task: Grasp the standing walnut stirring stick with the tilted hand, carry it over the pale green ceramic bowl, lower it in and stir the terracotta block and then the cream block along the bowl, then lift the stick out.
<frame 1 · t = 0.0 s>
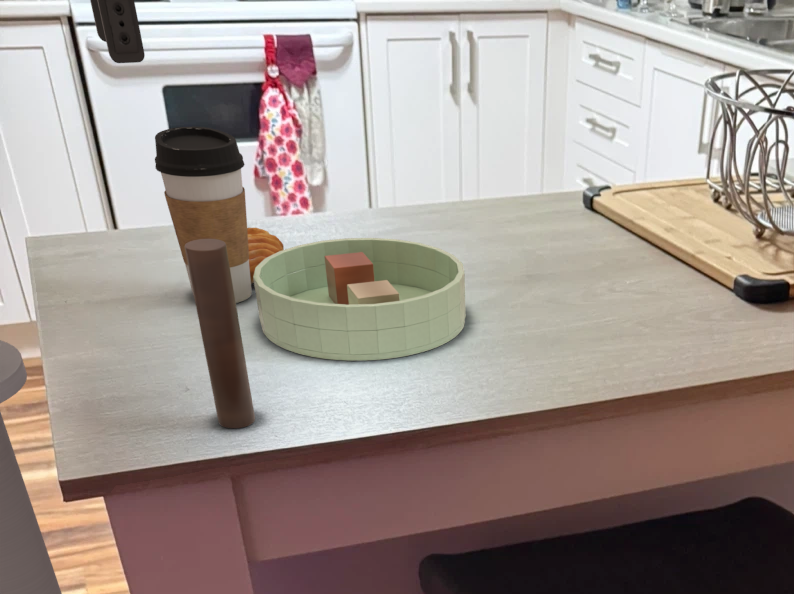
hand: (121, 51, 72), 26 cm above the kitchen island, tool pointing down, fingers open, 8 cm apart
block terracotta: (352, 300, 107), point 1 cm above the kitchen island, touching bowl
stir stick: (237, 420, 87), on the kitchen island
bowl: (364, 321, 105), on the kitchen island
pastry: (259, 274, 115), on the kitchen island
block cream: (376, 330, 101), point 1 cm above the kitchen island, touching bowl
coffee cup: (223, 297, 109), on the kitchen island
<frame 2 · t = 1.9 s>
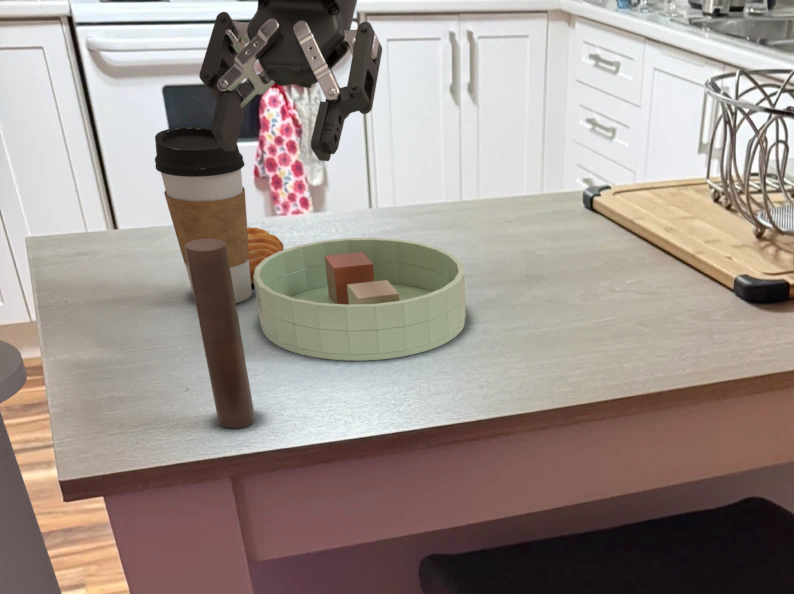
hand: (271, 150, 84), 18 cm above the kitchen island, tool tilted 45°, fingers open, 8 cm apart
nothing on the kitchen island moved.
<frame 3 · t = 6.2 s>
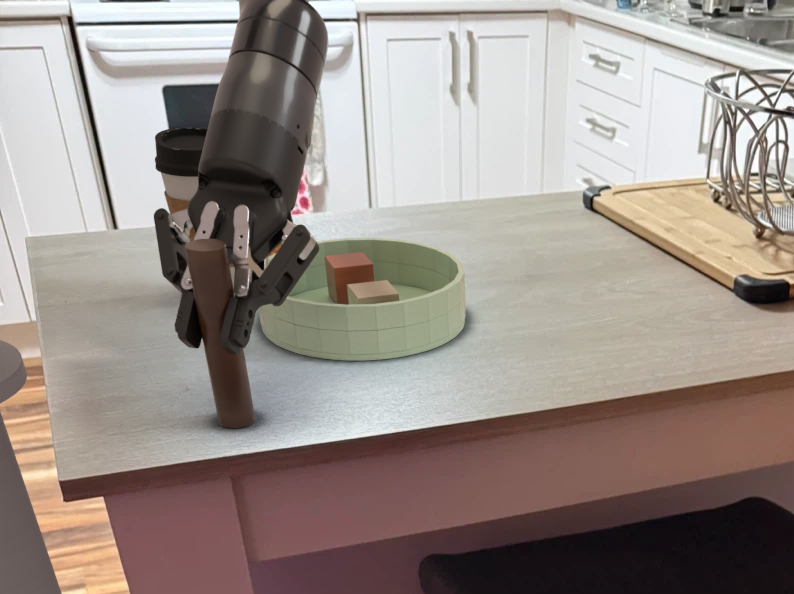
hand: (209, 345, 81), 7 cm above the kitchen island, tool tilted 45°, fingers closed on stir stick, 3 cm apart
stir stick: (237, 420, 87), on the kitchen island, touching gripper
everything else where it was.
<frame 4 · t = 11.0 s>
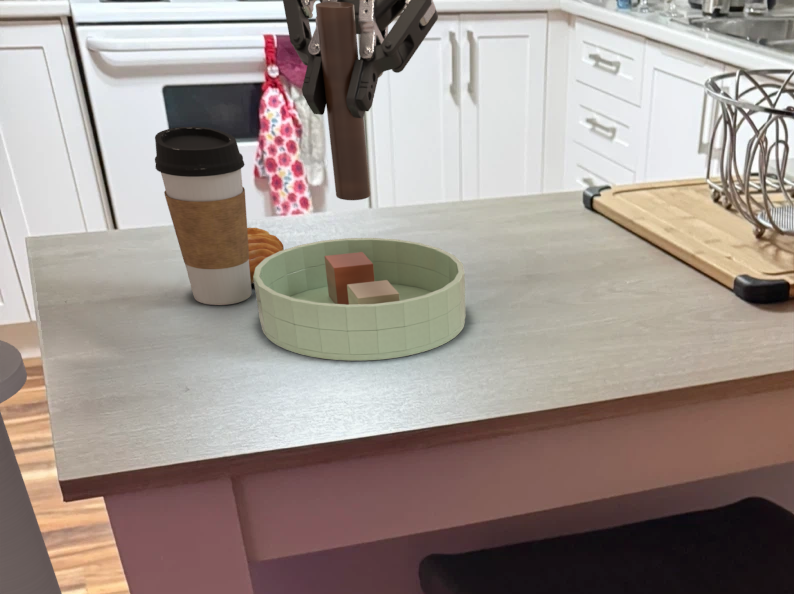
hand: (334, 109, 86), 20 cm above the kitchen island, tool tilted 45°, fingers closed on stir stick, 3 cm apart
stir stick: (353, 195, 92), point 13 cm above the kitchen island, touching gripper
everything else where it was.
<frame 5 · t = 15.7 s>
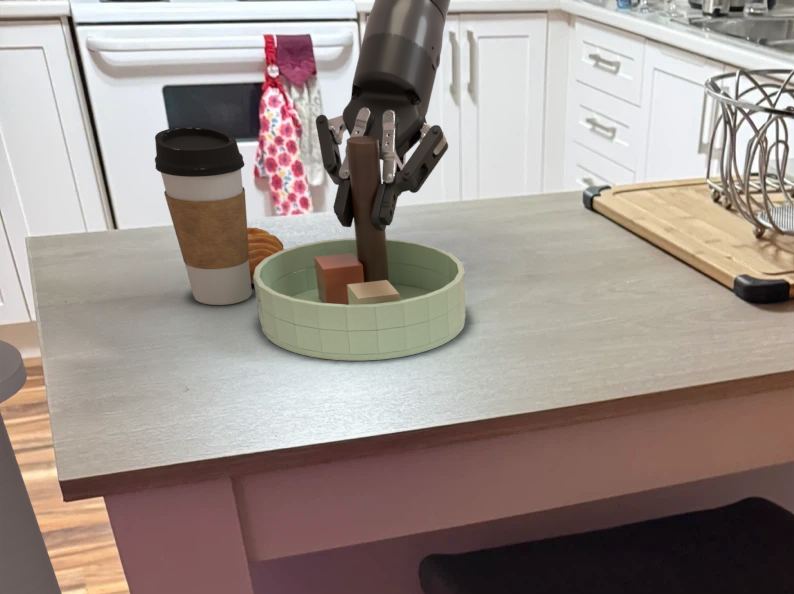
hand: (360, 223, 101), 8 cm above the kitchen island, tool tilted 45°, fingers closed on stir stick, 3 cm apart
block terracotta: (342, 301, 107), point 1 cm above the kitchen island, touching stir stick
stir stick: (375, 291, 108), point 1 cm above the kitchen island, touching block terracotta, gripper
everything else where it was.
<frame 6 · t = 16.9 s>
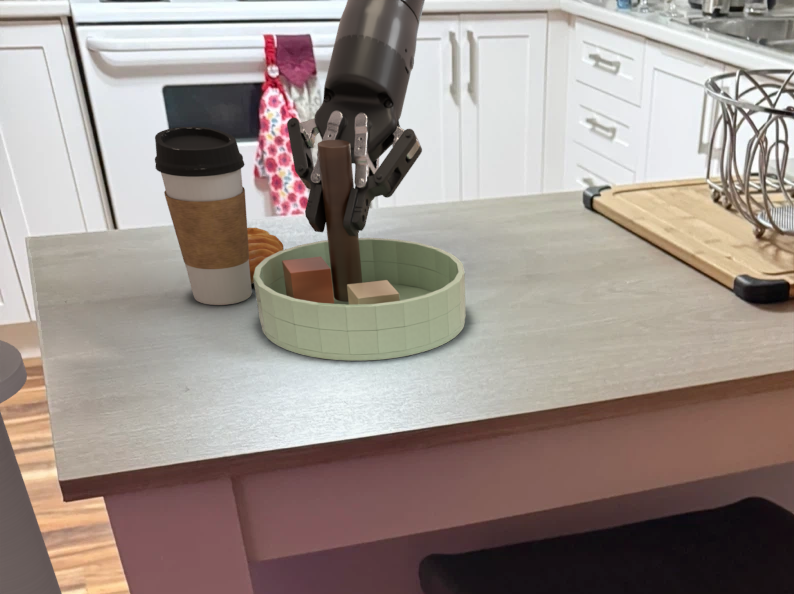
hand: (333, 228, 100), 8 cm above the kitchen island, tool tilted 45°, fingers closed on stir stick, 3 cm apart
block terracotta: (311, 305, 106), point 1 cm above the kitchen island, touching bowl
stir stick: (348, 296, 106), point 1 cm above the kitchen island, touching gripper
everything else where it was.
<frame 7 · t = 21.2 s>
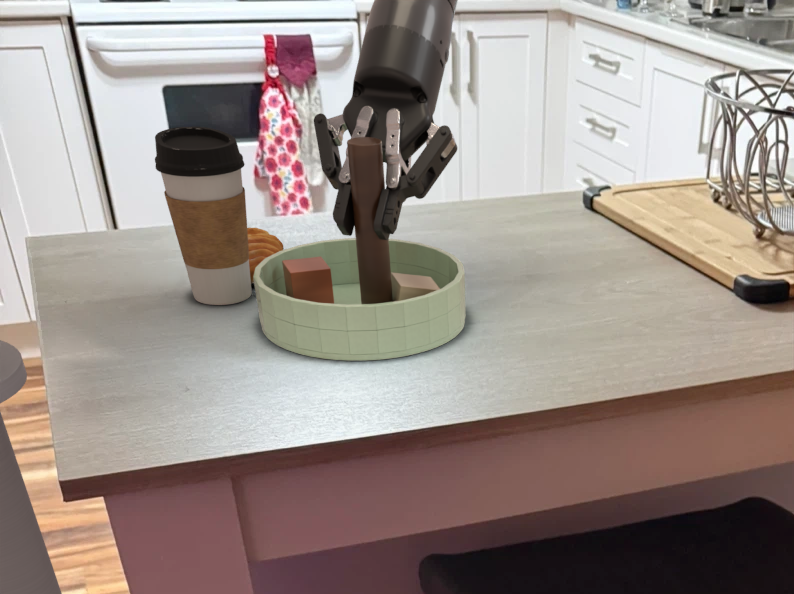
hand: (362, 232, 94), 10 cm above the kitchen island, tool tilted 45°, fingers closed on stir stick, 3 cm apart
stir stick: (377, 304, 100), point 3 cm above the kitchen island, touching gripper
block cream: (410, 323, 102), point 1 cm above the kitchen island, tilted 11°, touching bowl
everything else where it was.
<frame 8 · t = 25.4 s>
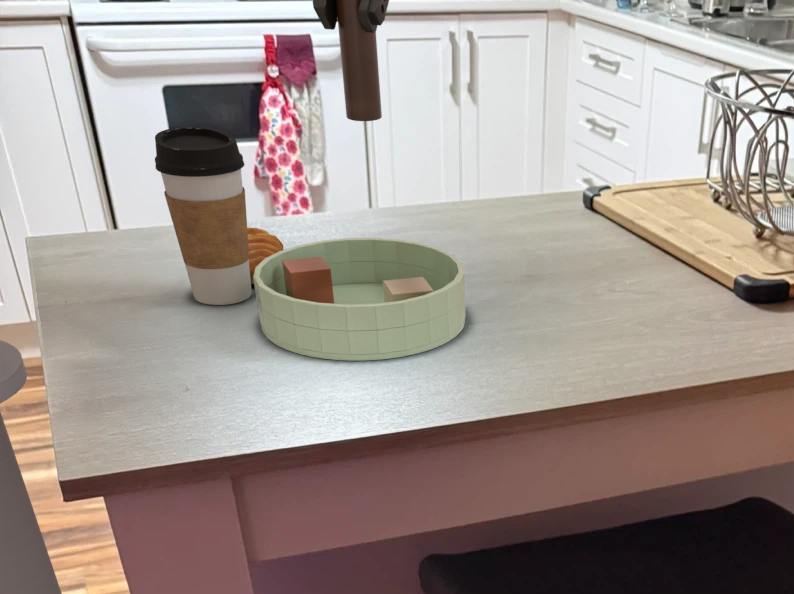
hand: (346, 22, 83), 26 cm above the kitchen island, tool tilted 45°, fingers closed on stir stick, 3 cm apart
stir stick: (364, 117, 89), point 19 cm above the kitchen island, touching gripper
block cream: (410, 327, 102), point 1 cm above the kitchen island, touching bowl
everything else where it was.
at the end: block terracotta moved 4.3 cm from its start; block cream moved 3.4 cm from its start; block terracotta inside the target area in the bowl (6.2 cm from its centre), point 0.6 cm above the bowl's base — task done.
